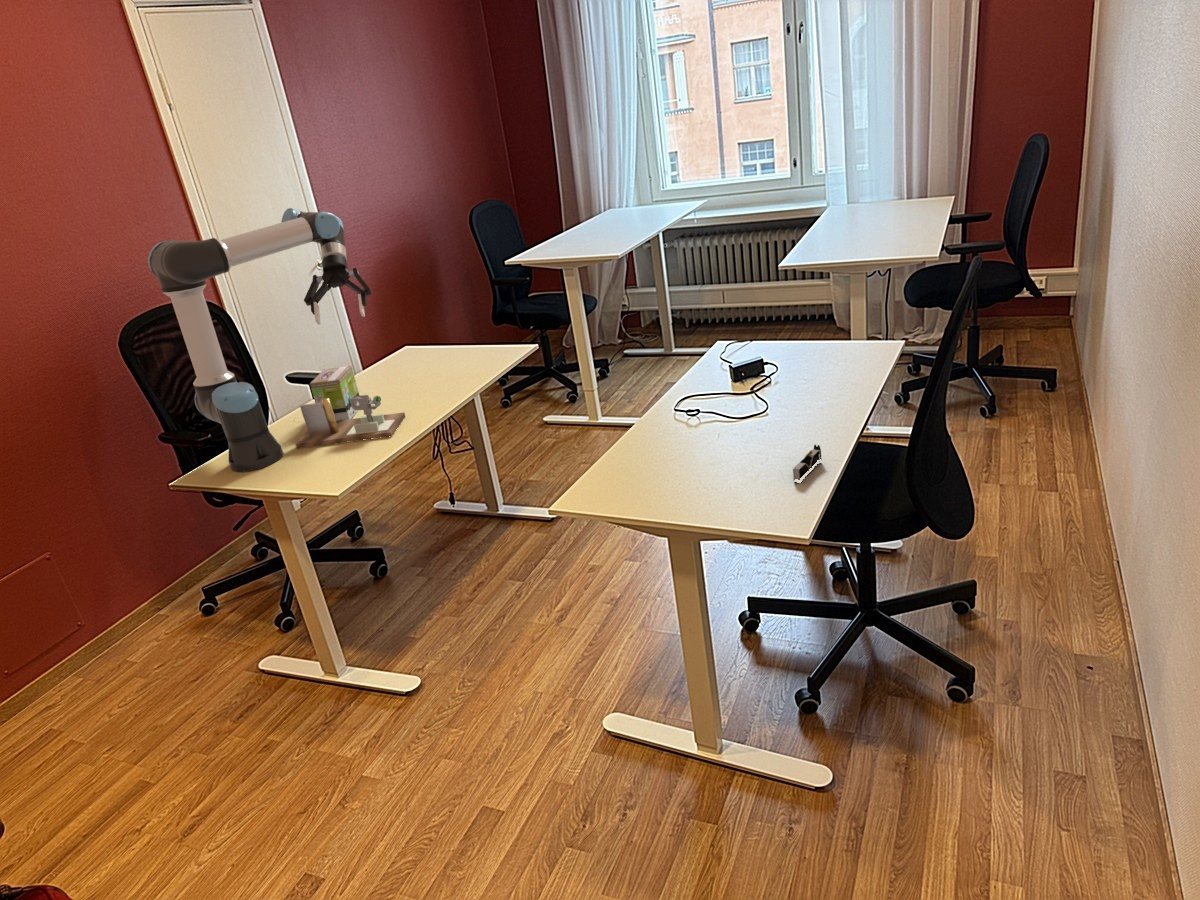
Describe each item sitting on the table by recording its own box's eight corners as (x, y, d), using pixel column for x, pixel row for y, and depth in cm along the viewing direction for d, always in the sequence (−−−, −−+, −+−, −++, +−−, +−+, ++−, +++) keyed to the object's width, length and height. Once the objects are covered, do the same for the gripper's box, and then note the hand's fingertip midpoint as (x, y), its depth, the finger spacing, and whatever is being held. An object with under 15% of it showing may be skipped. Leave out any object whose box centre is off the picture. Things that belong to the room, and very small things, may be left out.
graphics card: (815, 463, 187) (809, 444, 186) (825, 462, 186) (819, 443, 184) (793, 485, 179) (787, 465, 178) (804, 484, 177) (797, 464, 176)
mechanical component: (384, 428, 245) (376, 397, 241) (355, 429, 248) (346, 399, 244) (389, 424, 247) (381, 394, 243) (359, 425, 250) (351, 395, 246)
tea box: (351, 421, 260) (338, 379, 254) (321, 426, 260) (307, 383, 254) (363, 405, 274) (351, 364, 268) (334, 409, 274) (322, 368, 268)
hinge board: (297, 448, 245) (284, 410, 240) (315, 428, 259) (304, 391, 254) (391, 436, 242) (381, 398, 237) (405, 416, 257) (395, 380, 252)
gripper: (377, 260, 257) (384, 317, 250) (299, 274, 256) (303, 331, 248) (370, 246, 250) (377, 304, 243) (290, 260, 249) (294, 319, 241)
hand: (340, 318), depth 246 cm, fingers open, 13 cm apart
